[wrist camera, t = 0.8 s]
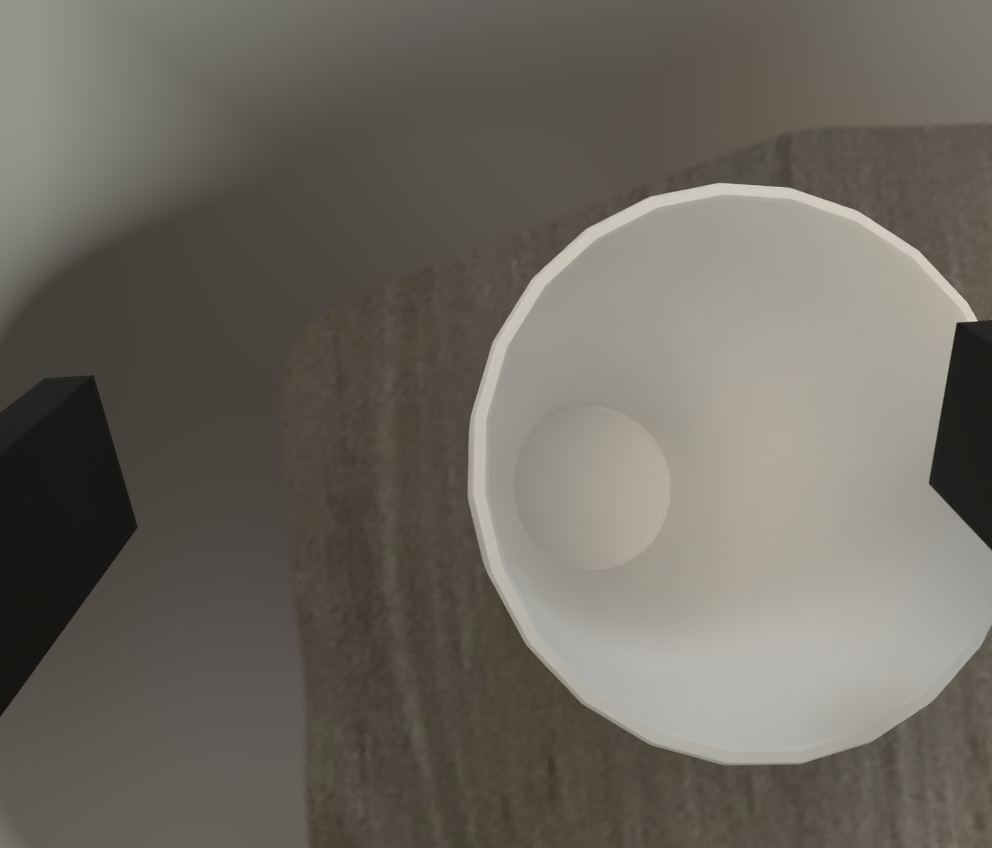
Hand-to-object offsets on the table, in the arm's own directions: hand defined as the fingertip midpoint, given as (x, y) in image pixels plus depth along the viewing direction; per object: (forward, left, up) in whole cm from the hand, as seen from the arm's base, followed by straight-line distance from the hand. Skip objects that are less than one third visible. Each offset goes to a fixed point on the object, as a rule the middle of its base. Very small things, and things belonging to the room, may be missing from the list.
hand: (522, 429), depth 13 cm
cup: (+2, +4, -15) cm, 16 cm away
